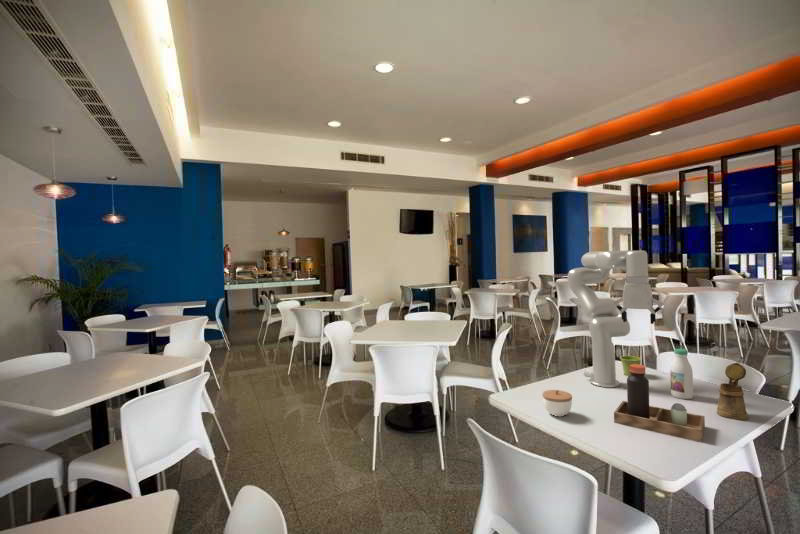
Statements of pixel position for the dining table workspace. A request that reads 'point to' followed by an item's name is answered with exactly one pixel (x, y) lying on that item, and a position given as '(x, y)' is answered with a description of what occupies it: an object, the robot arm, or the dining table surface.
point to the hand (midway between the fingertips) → (638, 322)
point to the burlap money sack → (732, 394)
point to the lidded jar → (557, 402)
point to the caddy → (662, 422)
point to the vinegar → (638, 392)
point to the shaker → (678, 414)
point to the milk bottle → (681, 375)
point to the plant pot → (629, 363)
